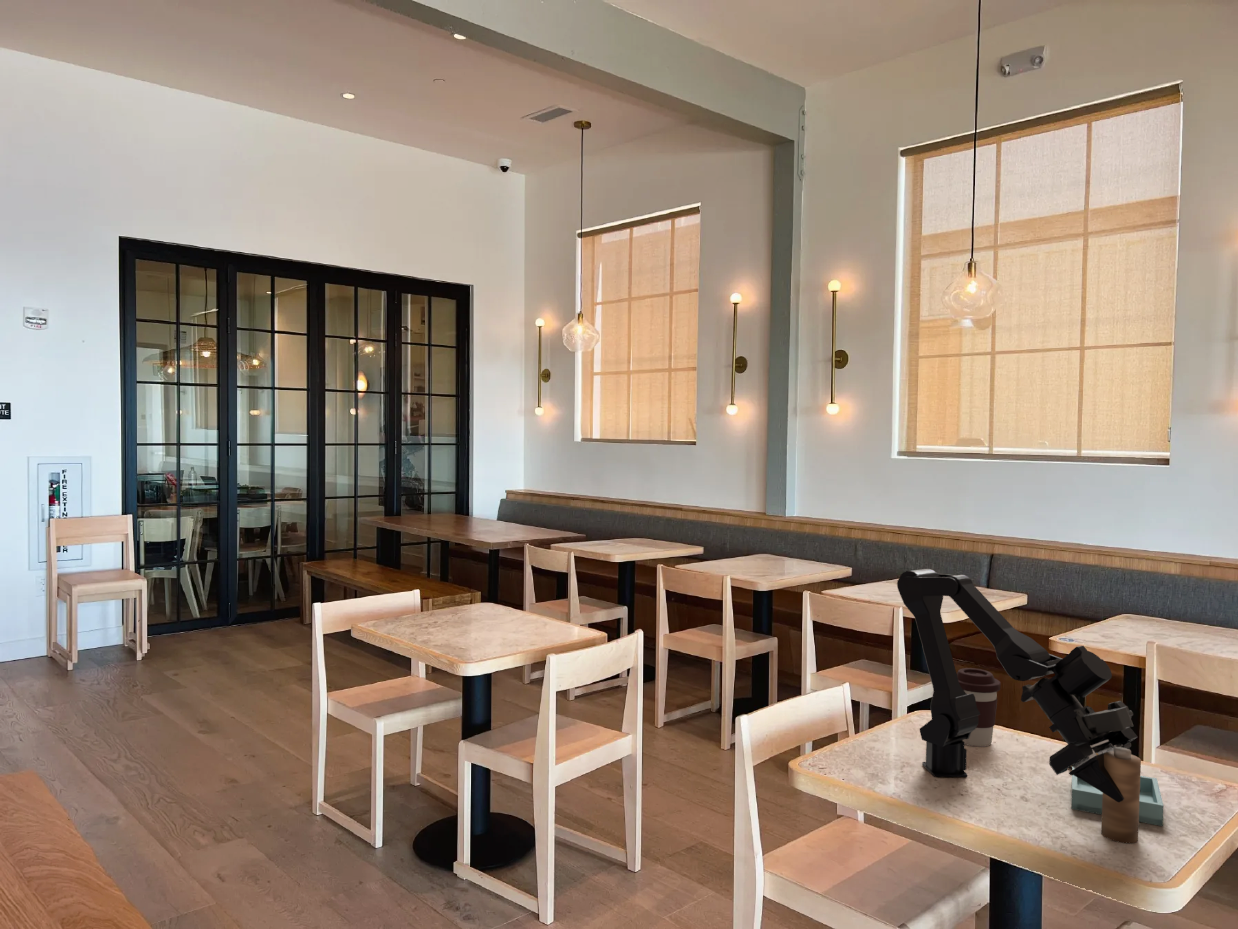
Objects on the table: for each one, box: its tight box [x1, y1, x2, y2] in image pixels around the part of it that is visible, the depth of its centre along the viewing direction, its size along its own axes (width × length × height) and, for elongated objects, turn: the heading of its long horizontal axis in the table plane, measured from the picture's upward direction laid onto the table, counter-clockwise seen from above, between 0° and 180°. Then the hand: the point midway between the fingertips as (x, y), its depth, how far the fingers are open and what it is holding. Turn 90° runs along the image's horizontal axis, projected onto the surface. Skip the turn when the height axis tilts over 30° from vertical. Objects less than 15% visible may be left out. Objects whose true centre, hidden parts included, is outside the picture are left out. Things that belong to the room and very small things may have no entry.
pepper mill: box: [1100, 747, 1142, 844], centre depth 141 cm, size 5×5×14 cm
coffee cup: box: [956, 667, 1002, 748], centre depth 185 cm, size 10×10×15 cm
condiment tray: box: [1070, 766, 1164, 827], centre depth 154 cm, size 14×14×4 cm
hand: (1129, 797), depth 140 cm, fingers closed on pepper mill, 5 cm apart
